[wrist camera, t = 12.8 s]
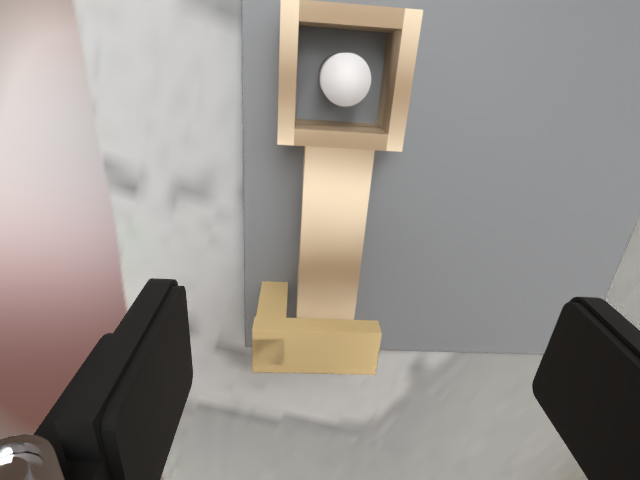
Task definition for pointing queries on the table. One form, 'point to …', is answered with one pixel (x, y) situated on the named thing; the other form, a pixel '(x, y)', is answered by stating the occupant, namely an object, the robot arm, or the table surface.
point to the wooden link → (341, 150)
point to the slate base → (450, 177)
